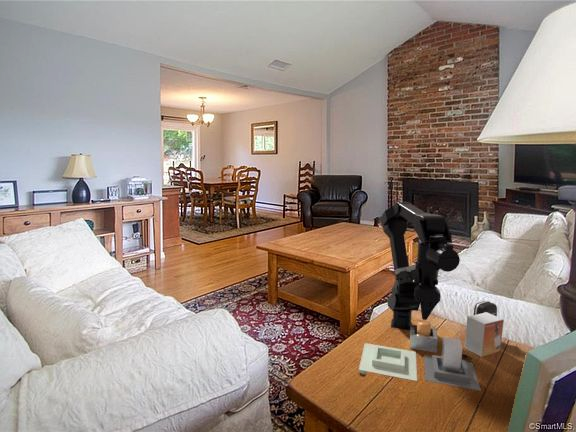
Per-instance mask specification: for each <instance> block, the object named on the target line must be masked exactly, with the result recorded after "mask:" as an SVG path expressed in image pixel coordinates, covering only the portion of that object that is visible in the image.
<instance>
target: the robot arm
mask: <svg viewBox="0 0 576 432" xmlns="http://www.w3.org/2000/svg"><path fill="white" fill-rule="evenodd" d="M409 223H411V224H412V225H413V226H414V227H413V230H414V231H415V233H416V234H417V237H416V238H415V240H416V241H417V243H418V244H417V245H418V246H417V255H416V261H415V263H414V265H409V264H410V263H409V258H408V252H407V247H406V246H407V245H406V241H405V240H406V239H405V234H406V232H407V230H408V228H409V227H408V224H409ZM380 225H381V226H382V229H383V230H382V231H383V232H384V234H385V235H386V237H388V239H389V244H390V251H391V258H392V265H393V271H394V279H395V281H394V283H393V285H392V286H391V294H390V295H389V297H388V298H387V301H386V302H387V307H388V308H389V309H390V310H391V311H392V319H391V323H390V324H391V325H390V328H393V329H400V330H406V331H410V328H411V324H412V325H413V322H412V315H413V314H412V312H413V311H416V312H417V311H419V308H420V311H421V319H422V321H427V320H428V318H429V317H430V315H431V313H432V312H433V311H434V309H435V308H436V306H437V305H438V304H439V303H440V302H441V297H442V296H441V291H440V289H439V288H438V287H437V286H438V285H439V278H438V277H439V272H440V270H441V271H443V272H446V273H447V272H452V271H454V270H456V269H457V268H458V267H459V265H460V261H461V258H460V256H459V254H458V252H457V251H456V250H454V245H453V239H452V237H453V236H452V233H451V231H450V228H449V225H448V222H447V220H446V218H445V217H444V216H443V215H441V214H436V213H429V212H428V213H427V212H425V211H423V210H422V209H420V208H419V207H417V206H416V205H413V203H412V202H410V201H397V202H395V203H394V204H393V205H392V206H391V207H389V208H387V209H385V210H384V212H383V213H382V214H381V216H380Z"/></svg>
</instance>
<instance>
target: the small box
mask: <svg viewBox="0 0 576 432" xmlns="http://www.w3.org/2000/svg"><path fill="white" fill-rule="evenodd" d="M504 320H505V319H503V318H501V317H499V316H498V315H497V316H494V315H492V314H490V313H487V312H484V313H481V314H477V315H468V316H467V318H466V329H465V336H464V337H465V338H464V348H465V349H466V350H468V351H470V352H472V353H474V354H475V355H477V356H479V357H481V358H482V357H485V356H486V357H487V356H488V355H492V354H496V353H498V352H501V347H502V337H503V330H504V329H503V328H504Z"/></svg>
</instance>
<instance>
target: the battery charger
mask: <svg viewBox="0 0 576 432" xmlns="http://www.w3.org/2000/svg"><path fill="white" fill-rule="evenodd" d="M484 312H487V313H490V314H492V315H494V316H497V317H498V306H497V304H496V303H494V302H490V301H489V300H482V301H480V302H477V303H476V304H475V305H474V308H473V315H477V314H481V313H484ZM473 315H472V316H473Z"/></svg>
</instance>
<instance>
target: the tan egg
mask: <svg viewBox="0 0 576 432" xmlns="http://www.w3.org/2000/svg"><path fill="white" fill-rule="evenodd" d="M416 325H417V334H418V335H425V336H430V331H431V327H432V324H431V322H429V321H427V320H417V324H416Z"/></svg>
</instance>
